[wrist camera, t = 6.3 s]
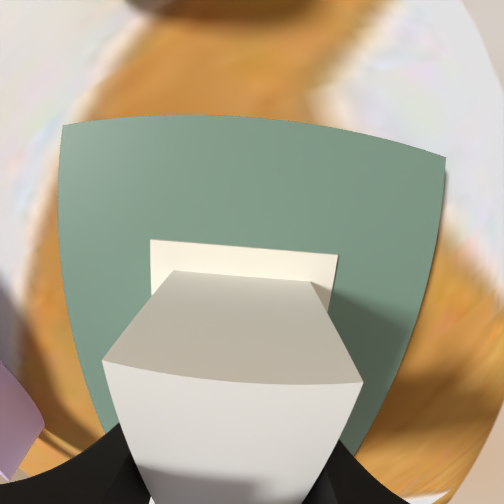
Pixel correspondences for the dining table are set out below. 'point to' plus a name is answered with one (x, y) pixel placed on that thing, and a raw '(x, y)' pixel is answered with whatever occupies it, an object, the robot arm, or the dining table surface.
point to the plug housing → (231, 389)
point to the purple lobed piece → (16, 423)
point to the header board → (247, 229)
